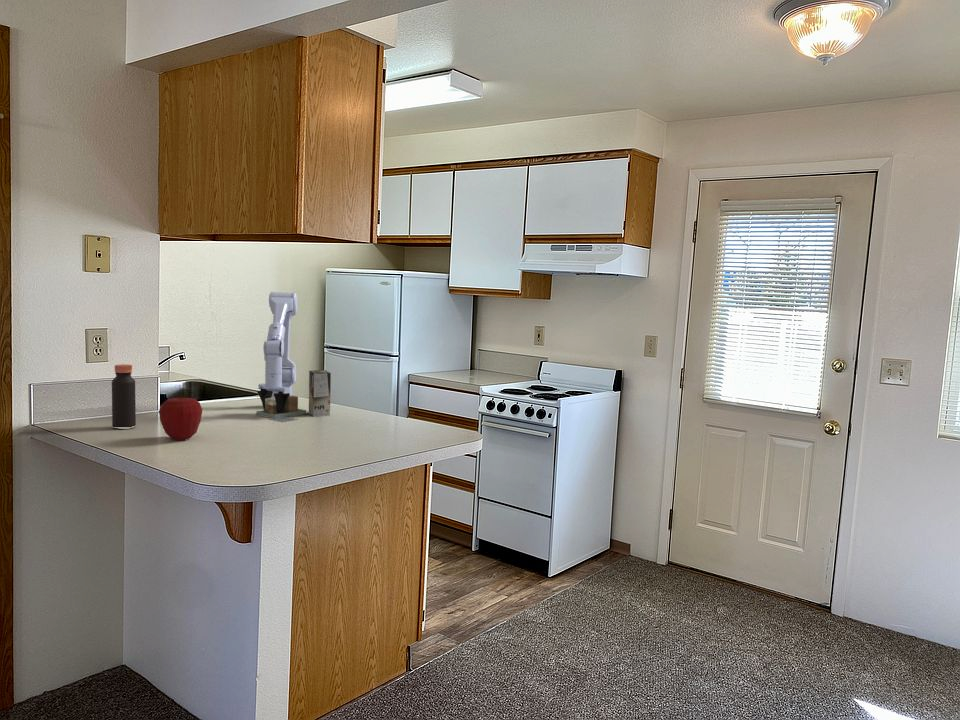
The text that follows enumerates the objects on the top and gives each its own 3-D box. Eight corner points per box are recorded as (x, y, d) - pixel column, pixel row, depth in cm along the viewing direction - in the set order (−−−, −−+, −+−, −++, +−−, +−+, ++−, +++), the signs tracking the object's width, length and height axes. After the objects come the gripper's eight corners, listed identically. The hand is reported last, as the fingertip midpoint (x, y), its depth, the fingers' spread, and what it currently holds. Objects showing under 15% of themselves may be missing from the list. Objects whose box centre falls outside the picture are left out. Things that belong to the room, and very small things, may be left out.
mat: (269, 420, 254) (269, 419, 254) (285, 418, 259) (285, 416, 259) (282, 423, 250) (282, 422, 250) (298, 420, 255) (298, 419, 255)
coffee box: (330, 416, 265) (331, 372, 263) (313, 417, 262) (313, 373, 261) (325, 412, 273) (325, 369, 272) (307, 413, 271) (308, 370, 269)
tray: (256, 415, 262) (256, 411, 262) (288, 411, 273) (288, 406, 273) (274, 419, 256) (274, 414, 256) (306, 414, 268) (306, 410, 267)
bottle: (110, 429, 229) (109, 366, 227) (114, 425, 236) (113, 364, 234) (134, 429, 231) (133, 366, 229) (137, 425, 238) (136, 364, 236)
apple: (203, 434, 227) (203, 391, 226) (201, 442, 216) (201, 397, 215) (161, 435, 224) (160, 392, 222) (157, 443, 213) (156, 398, 211)
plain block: (281, 412, 267) (282, 396, 267) (290, 411, 271) (290, 395, 270) (289, 414, 265) (289, 397, 264) (297, 412, 268) (297, 396, 268)
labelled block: (265, 415, 261) (265, 398, 261) (274, 413, 265) (274, 397, 264) (272, 416, 259) (272, 399, 258) (281, 415, 262) (281, 398, 262)
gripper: (251, 372, 261) (251, 410, 263) (277, 376, 253) (277, 415, 254) (267, 371, 267) (267, 407, 268) (293, 374, 259) (293, 412, 260)
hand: (273, 411), depth 262 cm, fingers open, 7 cm apart
